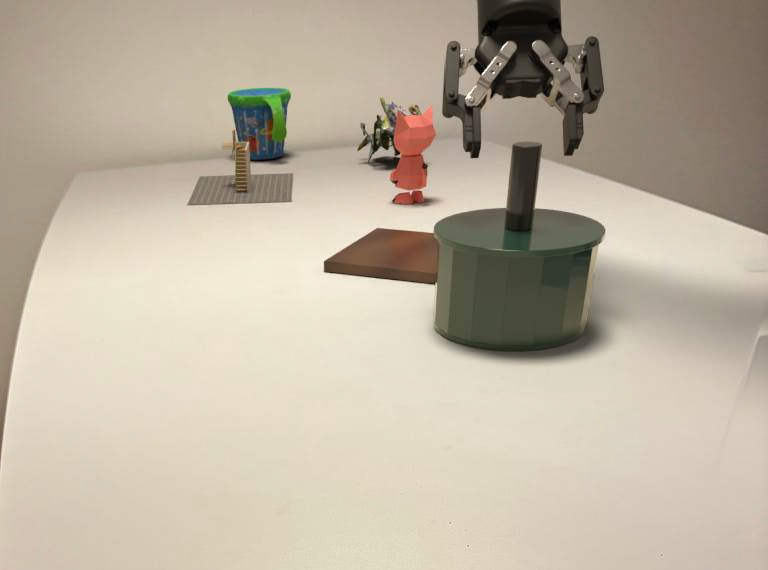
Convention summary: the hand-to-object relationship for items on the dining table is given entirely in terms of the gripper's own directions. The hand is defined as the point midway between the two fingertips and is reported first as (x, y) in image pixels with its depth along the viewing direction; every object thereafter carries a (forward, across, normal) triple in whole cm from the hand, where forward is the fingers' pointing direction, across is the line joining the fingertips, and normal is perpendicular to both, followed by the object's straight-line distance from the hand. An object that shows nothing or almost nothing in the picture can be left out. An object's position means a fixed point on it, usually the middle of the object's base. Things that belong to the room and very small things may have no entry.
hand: (523, 151), depth 86 cm
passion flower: (-45, -8, +67) cm, 81 cm away
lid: (+6, 0, +4) cm, 7 cm away
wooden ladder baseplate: (-34, -32, +56) cm, 73 cm away
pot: (+12, 0, +10) cm, 15 cm away
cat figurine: (-26, -6, +48) cm, 54 cm away
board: (-4, -7, +26) cm, 27 cm away
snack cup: (-52, -30, +73) cm, 94 cm away
